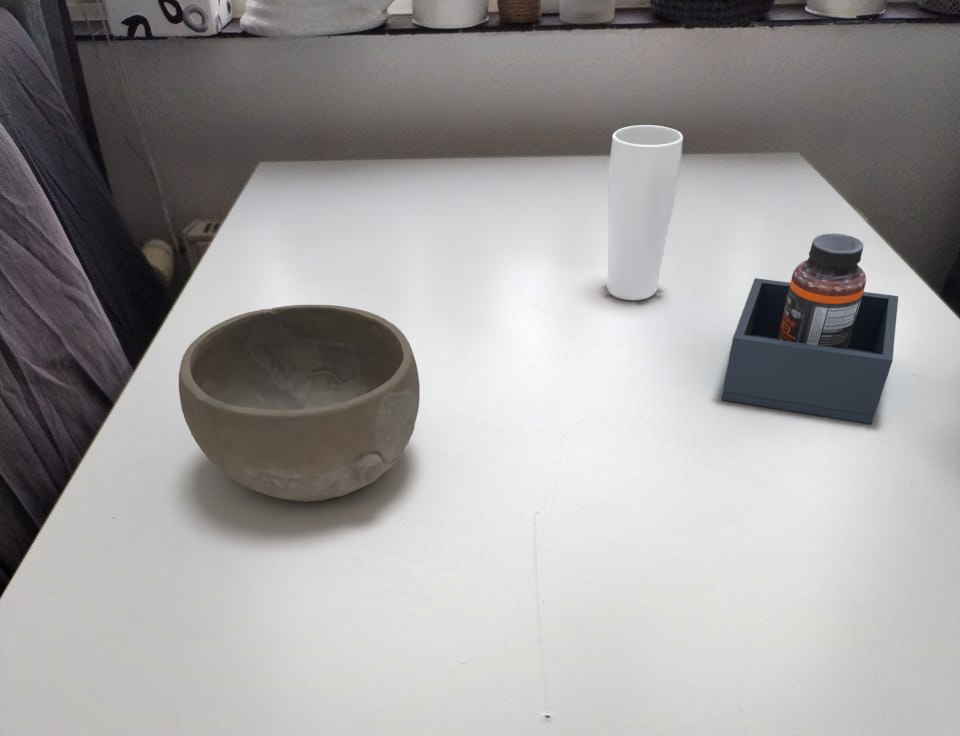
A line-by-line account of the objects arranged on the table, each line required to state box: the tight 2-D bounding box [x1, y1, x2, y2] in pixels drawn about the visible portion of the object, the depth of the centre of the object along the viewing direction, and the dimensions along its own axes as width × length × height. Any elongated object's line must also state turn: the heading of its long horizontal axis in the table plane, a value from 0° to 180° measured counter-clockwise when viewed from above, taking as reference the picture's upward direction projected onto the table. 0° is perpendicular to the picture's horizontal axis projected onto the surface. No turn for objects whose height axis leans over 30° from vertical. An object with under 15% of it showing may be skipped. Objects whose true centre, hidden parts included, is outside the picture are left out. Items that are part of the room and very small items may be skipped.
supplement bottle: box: [777, 233, 867, 350], centre depth 76 cm, size 6×6×11 cm
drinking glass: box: [606, 124, 684, 301], centre depth 89 cm, size 7×7×15 cm
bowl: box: [178, 304, 421, 503], centre depth 69 cm, size 17×18×10 cm
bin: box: [720, 277, 899, 425], centre depth 79 cm, size 13×13×6 cm
